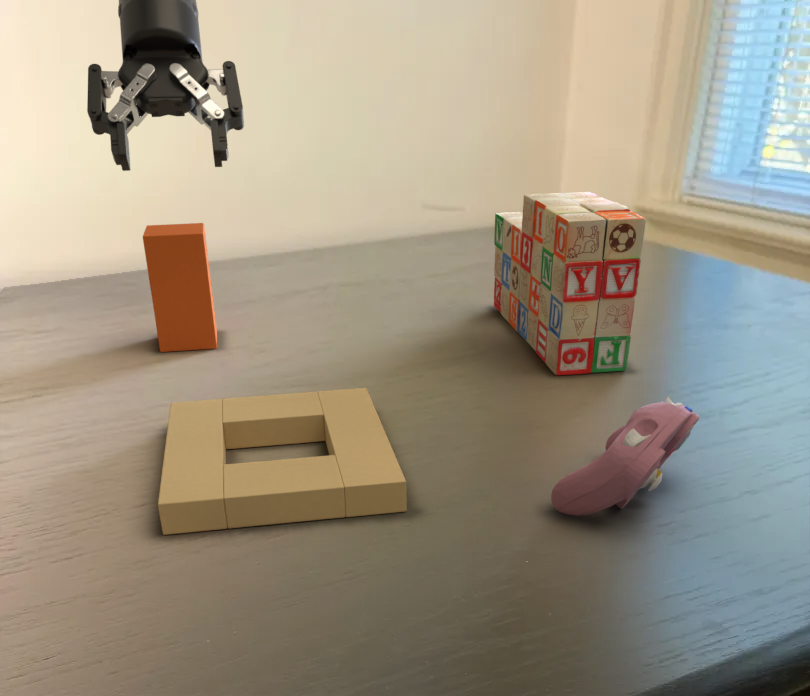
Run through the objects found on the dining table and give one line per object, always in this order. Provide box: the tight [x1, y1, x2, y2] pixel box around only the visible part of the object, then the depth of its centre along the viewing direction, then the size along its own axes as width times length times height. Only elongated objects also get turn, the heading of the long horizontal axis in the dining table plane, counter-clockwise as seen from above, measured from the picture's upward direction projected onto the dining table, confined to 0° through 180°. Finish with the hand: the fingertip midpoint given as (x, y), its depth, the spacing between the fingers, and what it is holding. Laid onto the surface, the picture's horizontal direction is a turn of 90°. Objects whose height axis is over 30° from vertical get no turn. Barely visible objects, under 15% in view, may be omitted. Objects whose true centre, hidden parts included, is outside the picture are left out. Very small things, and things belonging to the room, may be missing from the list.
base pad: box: [157, 387, 408, 536], centre depth 57 cm, size 14×16×2 cm
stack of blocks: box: [493, 191, 647, 376], centre depth 79 cm, size 21×6×12 cm, turn 9°
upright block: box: [142, 222, 218, 353], centre depth 79 cm, size 5×5×10 cm
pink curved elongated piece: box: [550, 395, 700, 516], centre depth 52 cm, size 10×5×7 cm, turn 147°
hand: (171, 163), depth 83 cm, fingers open, 8 cm apart
